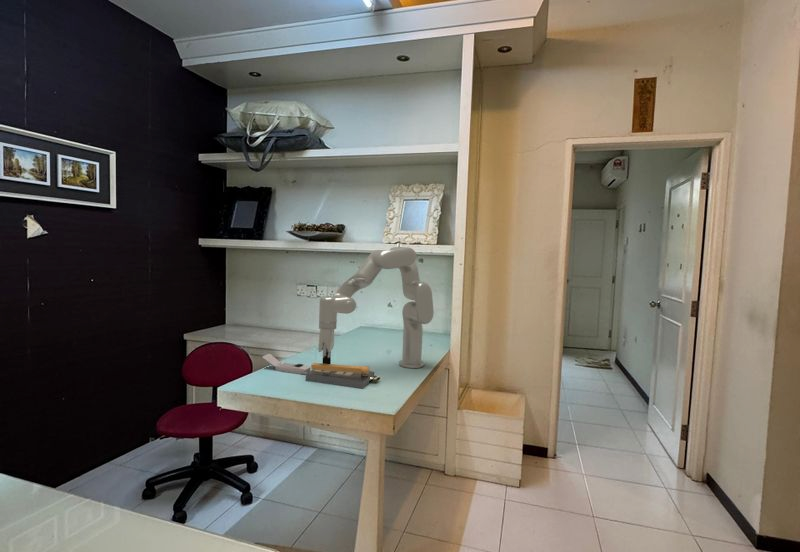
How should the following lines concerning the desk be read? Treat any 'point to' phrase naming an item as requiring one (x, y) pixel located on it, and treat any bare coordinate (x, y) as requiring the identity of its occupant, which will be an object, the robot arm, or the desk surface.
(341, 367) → the orange wooden bar
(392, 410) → the desk surface
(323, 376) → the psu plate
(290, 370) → the pale grey angled bar
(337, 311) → the robot arm
